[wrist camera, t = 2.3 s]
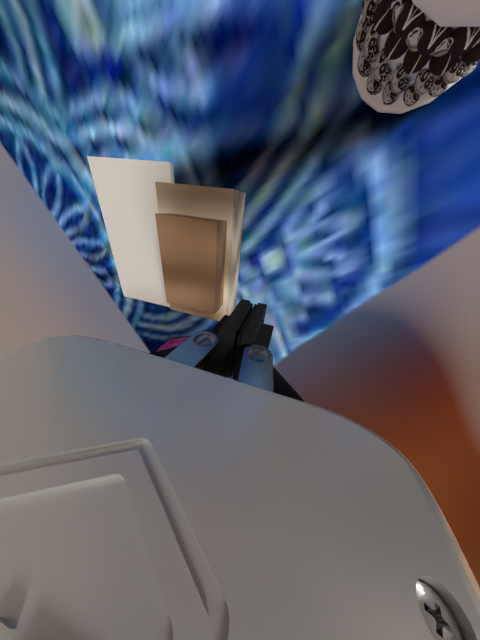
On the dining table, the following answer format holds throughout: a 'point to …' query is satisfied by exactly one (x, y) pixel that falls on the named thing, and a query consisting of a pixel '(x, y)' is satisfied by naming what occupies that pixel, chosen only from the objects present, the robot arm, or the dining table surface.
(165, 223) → the walnut tile
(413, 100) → the decorative candle
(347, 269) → the dining table surface
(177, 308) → the birch stand
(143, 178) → the off-white mat
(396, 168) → the dining table surface
